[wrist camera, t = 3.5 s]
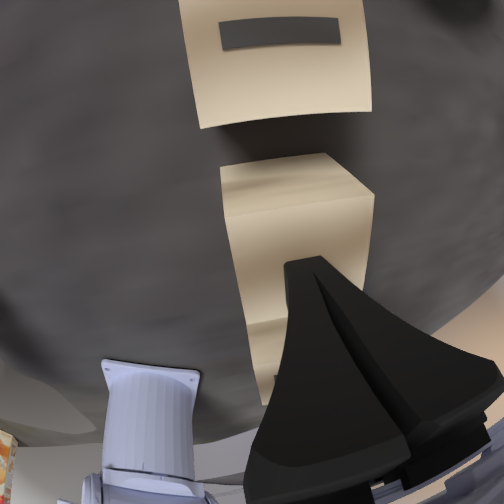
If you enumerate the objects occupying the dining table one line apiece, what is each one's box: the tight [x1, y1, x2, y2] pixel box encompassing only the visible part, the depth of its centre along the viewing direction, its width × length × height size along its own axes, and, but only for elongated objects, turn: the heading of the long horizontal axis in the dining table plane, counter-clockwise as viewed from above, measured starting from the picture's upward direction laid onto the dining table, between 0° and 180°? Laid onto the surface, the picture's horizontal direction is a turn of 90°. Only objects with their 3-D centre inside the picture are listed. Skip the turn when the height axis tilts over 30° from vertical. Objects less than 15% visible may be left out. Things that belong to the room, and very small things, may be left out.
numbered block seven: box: [246, 317, 288, 405], centre depth 17 cm, size 5×5×5 cm
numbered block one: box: [179, 0, 372, 129], centre depth 8 cm, size 5×5×5 cm
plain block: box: [220, 153, 374, 325], centre depth 12 cm, size 5×5×5 cm
